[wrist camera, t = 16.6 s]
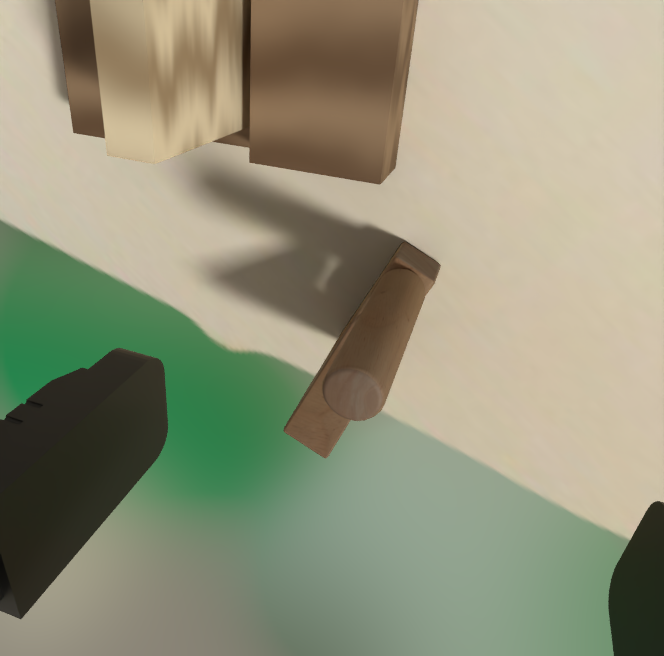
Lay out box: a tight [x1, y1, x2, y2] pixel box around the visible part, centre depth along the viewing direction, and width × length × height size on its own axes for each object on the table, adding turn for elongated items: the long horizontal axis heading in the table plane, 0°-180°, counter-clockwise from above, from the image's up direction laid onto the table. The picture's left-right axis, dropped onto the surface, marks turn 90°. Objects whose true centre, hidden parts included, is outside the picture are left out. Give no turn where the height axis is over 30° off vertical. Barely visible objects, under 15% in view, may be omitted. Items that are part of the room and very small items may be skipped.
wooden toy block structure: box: [284, 242, 440, 458], centre depth 40 cm, size 4×11×18 cm, turn 152°
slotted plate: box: [55, 0, 418, 184], centre depth 39 cm, size 14×24×5 cm, turn 85°
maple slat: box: [90, 0, 251, 164], centre depth 35 cm, size 10×3×14 cm, turn 175°
